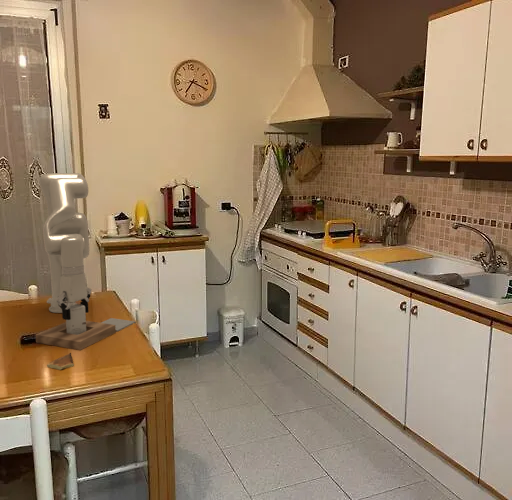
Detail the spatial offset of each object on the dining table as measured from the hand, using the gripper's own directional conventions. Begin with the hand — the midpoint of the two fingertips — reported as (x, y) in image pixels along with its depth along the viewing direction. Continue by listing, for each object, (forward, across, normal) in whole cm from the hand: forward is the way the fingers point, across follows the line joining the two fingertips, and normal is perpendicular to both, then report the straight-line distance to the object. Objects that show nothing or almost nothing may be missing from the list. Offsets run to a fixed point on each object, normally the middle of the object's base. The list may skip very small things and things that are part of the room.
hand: (75, 315), depth 193 cm
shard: (+10, +22, +11) cm, 26 cm away
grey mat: (+8, -18, +4) cm, 20 cm away
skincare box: (+9, 0, 0) cm, 9 cm away
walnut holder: (+8, 0, 0) cm, 9 cm away
